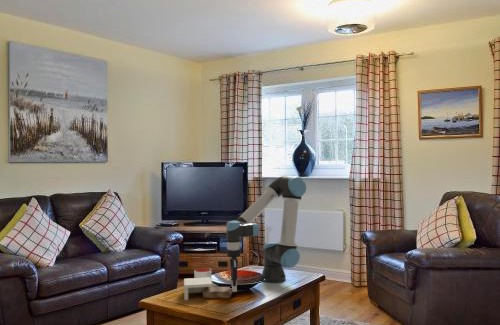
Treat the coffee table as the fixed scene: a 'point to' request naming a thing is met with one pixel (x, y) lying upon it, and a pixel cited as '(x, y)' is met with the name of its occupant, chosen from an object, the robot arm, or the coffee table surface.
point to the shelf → (196, 285)
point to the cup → (202, 273)
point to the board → (217, 292)
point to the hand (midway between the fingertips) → (234, 291)
